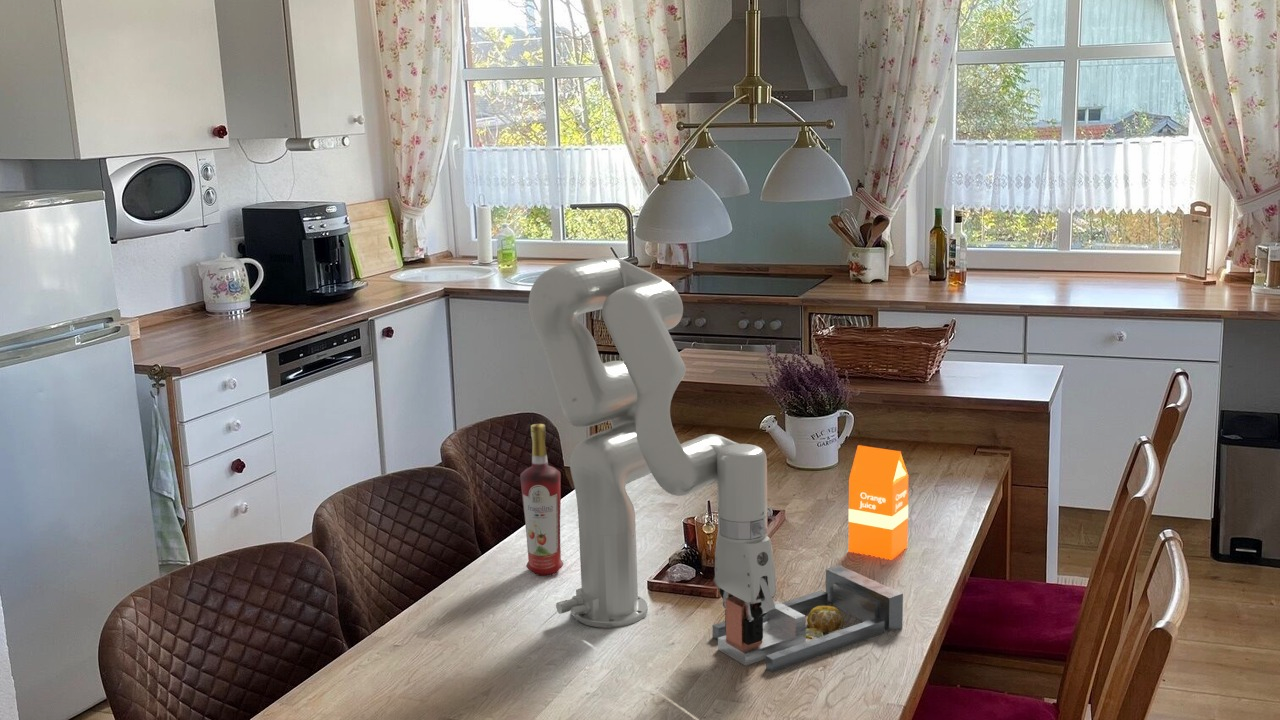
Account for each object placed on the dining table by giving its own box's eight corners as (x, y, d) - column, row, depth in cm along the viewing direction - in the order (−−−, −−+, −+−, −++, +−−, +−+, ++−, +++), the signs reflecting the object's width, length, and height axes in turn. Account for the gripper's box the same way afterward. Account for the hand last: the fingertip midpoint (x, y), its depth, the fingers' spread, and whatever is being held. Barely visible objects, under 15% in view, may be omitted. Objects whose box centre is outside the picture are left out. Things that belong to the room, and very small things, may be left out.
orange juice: (864, 538, 240) (865, 439, 236) (907, 547, 235) (909, 446, 231) (847, 551, 234) (848, 450, 230) (891, 560, 229) (893, 457, 225)
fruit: (802, 643, 197) (802, 622, 196) (797, 621, 205) (797, 600, 205) (854, 642, 197) (855, 621, 196) (848, 620, 205) (848, 599, 204)
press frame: (772, 674, 187) (772, 637, 185) (712, 638, 199) (712, 604, 198) (902, 628, 201) (902, 593, 200) (838, 597, 213) (839, 565, 212)
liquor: (523, 579, 225) (515, 431, 219) (527, 564, 233) (520, 420, 227) (563, 578, 225) (556, 430, 219) (566, 563, 232) (560, 419, 226)
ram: (745, 665, 189) (744, 611, 187) (718, 649, 195) (717, 596, 193) (805, 645, 195) (805, 591, 193) (777, 629, 201) (777, 577, 199)
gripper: (797, 535, 184) (797, 649, 188) (729, 505, 197) (730, 612, 201) (757, 546, 180) (758, 663, 184) (690, 515, 193) (693, 624, 197)
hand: (744, 635), depth 192 cm, fingers closed on ram, 4 cm apart
